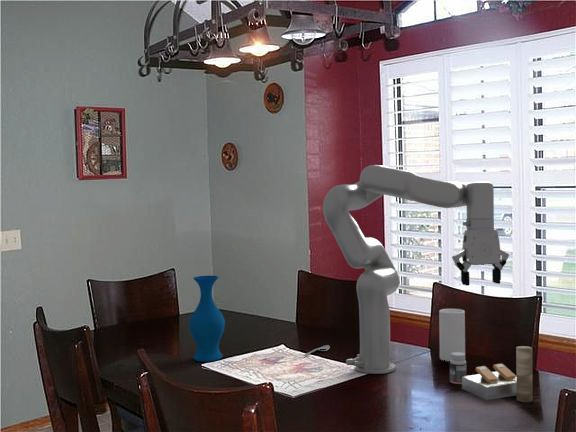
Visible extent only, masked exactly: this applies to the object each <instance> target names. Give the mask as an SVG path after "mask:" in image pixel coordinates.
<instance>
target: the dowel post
mask: <svg viewBox="0 0 576 432" xmlns="http://www.w3.org/2000/svg"><path fill="white" fill-rule="evenodd" d="M515 349H516V350H515V353H516V355H515V356H516V357H515V358H516V359H515V360H516V362H515V363H516V364H515V365H516V366H515V367H516V368H515V369H516V376H517V395H516V401H517V402H522V403H531V402H533V399H534V398H533V397H534V396H533V348H532V347H531V346H526V345H525V346H524V345H521V346H516V347H515Z"/></svg>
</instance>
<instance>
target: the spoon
mask: <svg viewBox="0 0 576 432" xmlns="http://www.w3.org/2000/svg"><path fill="white" fill-rule="evenodd" d="M330 347H331V346H330V345H329V344H327V345H323V346H321V347H317V348H315V349H312V350H311V351H309V352H306V353H305V354H303V356H306V357H307V355H308V356H309V355H311V354H312V353H314V352H316V351H319V352H326V351H328V350H329V349H330ZM320 349H326V350H320Z"/></svg>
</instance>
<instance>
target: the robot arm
mask: <svg viewBox="0 0 576 432" xmlns="http://www.w3.org/2000/svg"><path fill="white" fill-rule="evenodd" d="M494 191H495V190H494V185H493V183H492V182H490V181H473V182H461V181H446V180H445V181H444V180H438V179H432V178H428V177H423V176H420V175H418V174H416V173H415V172H414V171H408V170H404V169H397V168H393V167H390V166H387V165H381V164H379V165H378V164H370V165H368V166H366V167H364V168H363V169H362V171H361V172H360V175H359V180H358V181H357V182H355V183H353V184H349V183H348V184H339V185H335V186H334V187H332V188H331V189H329V190H328V192H327V193H326V195H325V197H324V198H323V199H324V200H323V203H322V213H323V216H324V220H325V222H326V224H327V226H328V228H329V230H330V231H331V233H332V235H333V236H334V238H335V241H336V243H337V245H338V247H339V248H340V250H341V252H342V255H343V258H344V259H345V261H346V262H347V264H348V265H349V266H350V267H351V268H353V269H355V270H356V269H364V270H365V271H364V272H362V273H361V274H360V275H359V277H358V279H357V281H356V295H357V300H358V301H357V302H358V310H359V311H358V312H359V313H358V314H359V318H358V319H359V353H358V354H356V357H354V358H346V360H345V364H346V365H347V366H354V367H355V370H356V371H358V372H360V373H364V374H371V375H374V374H375V375H381V374H382V375H383V374H390V373H391V372H392V373H393V372H394V371H396V370H397V369H396V364H395V363H393V362H391V316H390V315H391V314H390V313H391V312H390V304H389V300H388V296H390V295H392V294H394V293H396V291H397V290H398V288H399V285H400V277H399V273H398V270H397V269H396V268H395V265H394V263H393V262H392V260H391V258H390V257H389V254H388V253H387V250H386V249H385V247H384V246H383V244H382V243H381V242H380V241H379V240H378V239H376V238H374V237H370V236H368V237H367V236H365V234H364V233H363V232H362V230H361V228H360V226H359V224H358V222H357V221H356V220H355V219H354V217H353V216H352V215H351V213H350V211H358V210H362V209H363V208H366V207H367V206H369V205H370V204H372V203H374V201H377V200H378V199H379V198H381V197H382V196H384V195H385V196H390V197H393V198H397V199H398V198H399V199H404V200H406V201H411V202H416V203H420V204H422V205H423V204H424V205H427V206H428V205H429V206H433V207H436V208H437V207H438V208H442V209H452V208H453V209H454V208H460V207H466V219H465V220H464V221H463V222H462V226H463V227H466V228H465V230H464V232H463V233H464V234H463V238H462V239H463V240H462V249H461V250H460V251H459V252H457V253H456V254H454V255H452V256H451V258H452V261H453V262H454V265H455V267H457V269H458V270H459V271H460V281H461V284H462V285H463V286H465V287H466V286H470V271H468V270H469V269H470V268H471V266H472V265H473V266H482V265H483V266H484V265H491V266H492V267H493V268H492V270H491V273H492V275H491V276H492V283H494V284H499V285H500V284H501V280H502V272H501V270H503V267H504V266H505V265H506V264H507V261H508V259H509V257H510V255H509V253H508V252H505V251H504V250H502V249H501V243H500V237H499V233H498V229H497V228H495V211H494V210H495V204H494V202H495V201H494V200H495V199H494V197H495V196H494V194H495V193H494ZM460 258H462V262H461V260H460Z"/></svg>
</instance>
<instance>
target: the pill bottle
mask: <svg viewBox="0 0 576 432" xmlns="http://www.w3.org/2000/svg"><path fill="white" fill-rule="evenodd" d="M464 359H465V360H464ZM462 376H467V361H466V352H465V353H461V352H454V353H451V360H450V362H449V382H450V383H452V384H456V385H462Z"/></svg>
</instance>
